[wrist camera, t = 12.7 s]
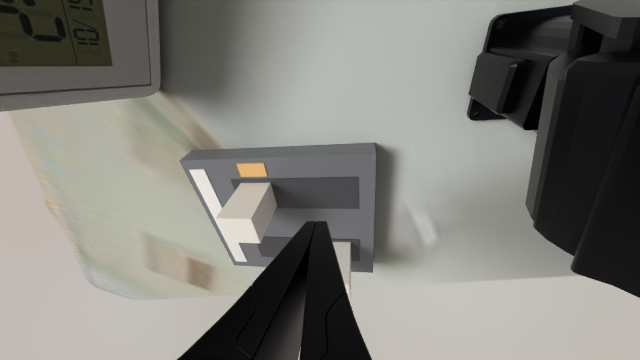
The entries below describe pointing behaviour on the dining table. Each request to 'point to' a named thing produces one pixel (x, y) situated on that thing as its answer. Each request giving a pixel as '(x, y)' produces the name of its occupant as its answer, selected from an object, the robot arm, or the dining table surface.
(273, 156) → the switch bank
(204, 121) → the dining table surface
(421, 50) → the dining table surface
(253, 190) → the switch tab
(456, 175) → the dining table surface
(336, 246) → the switch tab
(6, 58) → the digital clock
